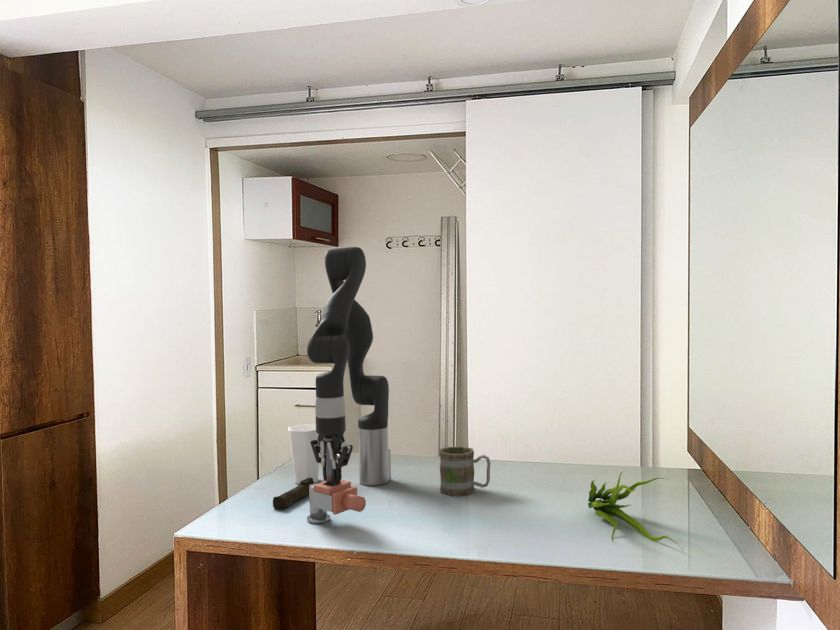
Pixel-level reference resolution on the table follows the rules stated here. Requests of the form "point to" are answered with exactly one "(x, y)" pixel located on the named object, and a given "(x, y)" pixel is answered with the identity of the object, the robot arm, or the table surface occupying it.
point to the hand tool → (292, 494)
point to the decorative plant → (617, 506)
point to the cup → (303, 452)
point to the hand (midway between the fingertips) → (332, 481)
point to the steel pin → (329, 464)
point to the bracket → (342, 496)
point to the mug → (459, 471)
